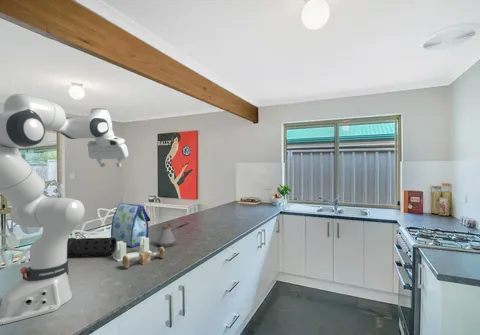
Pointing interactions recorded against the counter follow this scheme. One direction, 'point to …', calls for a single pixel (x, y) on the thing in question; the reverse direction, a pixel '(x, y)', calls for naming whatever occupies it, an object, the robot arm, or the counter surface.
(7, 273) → the counter surface
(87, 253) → the black foam roller
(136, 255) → the brackets
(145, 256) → the brown block with rod
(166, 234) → the coffee pot
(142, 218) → the lunch bag
